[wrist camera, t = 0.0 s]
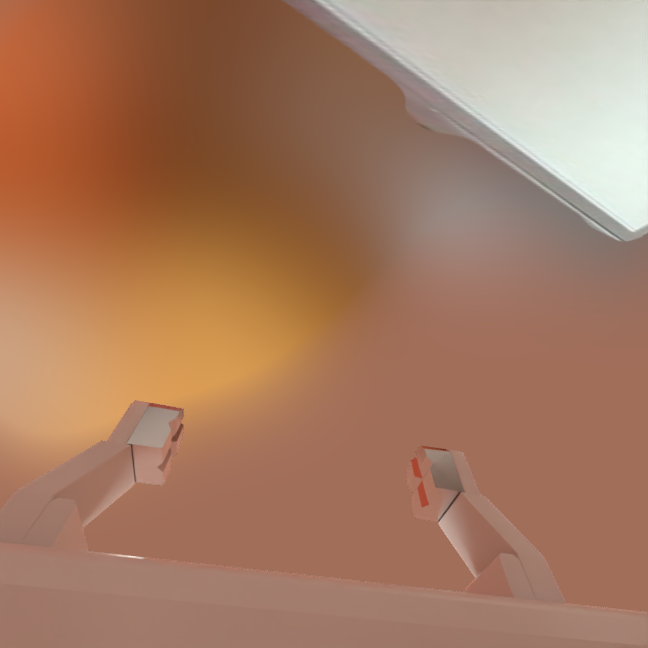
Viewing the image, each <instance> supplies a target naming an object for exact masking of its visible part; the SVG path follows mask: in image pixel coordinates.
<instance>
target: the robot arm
mask: <svg viewBox="0 0 648 648" xmlns="http://www.w3.org/2000/svg"><path fill="white" fill-rule="evenodd" d="M183 417H184V409H182V408H176V407H171V406H165V405H160V404H154V403H148V402H142V401H136V400H135V401H134V402H133V403H132V404H131V405H130V406H129V408H128V409H127V411H126V412H125V414H124V416H123V417H122V419H121V420H120V422H119V423H118V425H117V426H116V428H115V430H114V431H113V433H112V434H111V436H110V437H109V439H108V440H107V441H100V442H99V443H97V444H96V445H94V446H92V447H90V448H89V449H87V450H85V451H83V452H82V453H80V454H78V455H77V456H75V457H73V458H71V459H70V460H68V461H66V462H65V463H63V464H61V465H59V466H58V467H56V468H54V469H53V470H51V471H49V472H47V473H46V474H44V475H42V476H41V477H39V478H37V479H36V480H34V481H32V482H30V483H29V484H27V485H25V486H24V487H22V488H21V489H18V490H17V491H16V492H15V493H14V494H13V495H12V497H11V498H10V499H9V500H8V502H7V503H6V504H5V505H4V507H3V508H2V509H1V510H0V648H648V612H640V611H630V610H621V609H613V608H604V607H595V606H584V605H575V604H567V603H566V602H565V600H564V598H563V596H562V594H561V592H560V589H559V588H558V586H557V583H556V581H555V579H554V577H553V575H552V573H551V570H550V568H549V566H548V564H547V562H546V560H545V558H544V557H543V556H542V555H541V553H540V552H539V551H538V550H537V549H536V548H535V547H534V546H533V545H532V544H531V543H530V542H529V541H528V540H527V539H526V538H525V537H524V536H523V535H522V534H521V533H520V532H519V531H518V530H517V529H516V528H515V527H514V526H513V525H512V524H511V523H510V522H509V521H508V520H507V519H506V518H505V517H504V516H503V515H502V513H501V512H500V511H499V510H498V509H497V508H496V507H495V506H494V505H493V504H492V503H491V502H490V501H489V500H488V499H487V498H486V497H485V496H484V495H480V493H479V491H478V488H477V486H476V483H475V481H474V478H473V476H472V473H471V471H470V468H469V466H468V463H467V460H466V458H465V455H464V454H463V453H462V452H460V451H453V450H446V449H441V448H434V447H427V446H419V447H418V448H417V450H416V452H415V453H416V457H415V458H414V459H412V460H411V461H410V463H409V465H408V468H407V483H408V487H409V489H410V490H411V491H412V492H413V496H412V498H411V503H412V507H413V512H414V517H415V519H422V520H427V521H434V522H439V523H438V524H439V526H440V527H441V528H442V530H443V532H444V533H445V534H446V536H447V537H448V539H449V540H450V542H451V543H452V544H453V546H454V548H455V549H456V550H457V552H458V553H459V555H460V556H461V558H462V559H463V560H464V562H465V564H466V565H467V566H468V568H469V569H470V571H471V572H472V574H473V575H474V577H475V579H474V580H473V581H472V582H471V583H470V584H469V585H468V586H467V587H466V589H465V590H464V592H456V591H447V590H438V589H428V588H420V587H410V586H401V585H392V584H383V583H374V582H365V581H356V580H347V579H338V578H329V577H319V576H311V575H300V574H292V573H283V572H273V571H265V570H255V569H246V568H237V567H228V566H219V565H209V564H200V563H191V562H181V561H173V560H163V559H153V558H145V557H135V556H126V555H118V554H108V553H99V552H89V551H88V546H87V542H86V538H85V534H84V531H83V528H84V527H85V526H86V525H87V524H88V523H90V521H92V520H93V519H94V518H95V517H96V516H98V515H99V514H100V513H101V512H102V511H104V510H105V509H106V508H107V507H108V506H110V505H111V504H112V503H113V502H114V501H116V500H117V499H118V498H119V497H120V496H121V495H123V494H124V493H125V492H126V491H127V490H128V489H130V488H131V487H132V486H133V485H134V484H135V482H138V483H148V484H157V485H164V483H165V480H166V478H167V476H168V474H169V471H170V469H171V467H172V466H171V465H172V464H171V463H172V460H171V458H172V457H173V456H175V455H176V454H177V452H178V450H179V447H180V444H181V441H182V437H183V430H184V426H183V424H182V423H181V421H182V419H183Z"/></svg>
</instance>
